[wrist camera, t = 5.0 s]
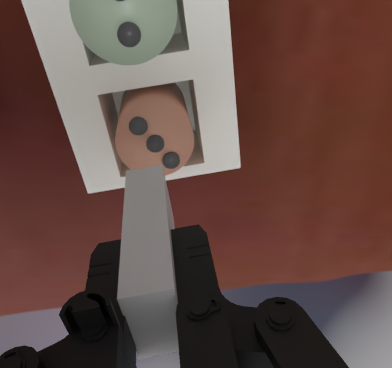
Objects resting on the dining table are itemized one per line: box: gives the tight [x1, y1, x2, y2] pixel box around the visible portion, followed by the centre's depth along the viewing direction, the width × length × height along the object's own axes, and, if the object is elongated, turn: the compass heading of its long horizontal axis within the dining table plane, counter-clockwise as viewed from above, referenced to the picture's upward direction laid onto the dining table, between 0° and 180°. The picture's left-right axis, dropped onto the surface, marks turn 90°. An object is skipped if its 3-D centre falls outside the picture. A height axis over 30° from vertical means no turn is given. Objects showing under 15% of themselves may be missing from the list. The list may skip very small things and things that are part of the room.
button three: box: [115, 83, 194, 176], centre depth 23 cm, size 4×4×6 cm
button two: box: [69, 0, 177, 65], centre depth 18 cm, size 4×4×6 cm
